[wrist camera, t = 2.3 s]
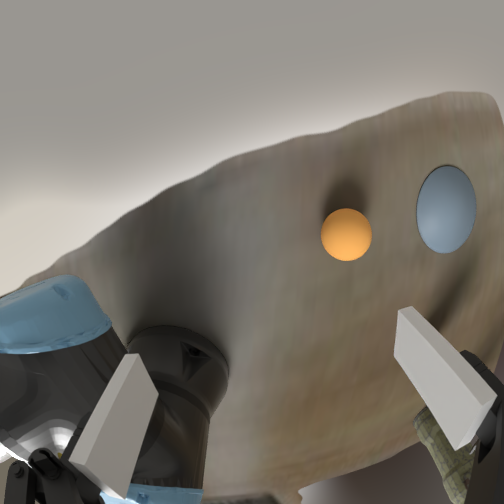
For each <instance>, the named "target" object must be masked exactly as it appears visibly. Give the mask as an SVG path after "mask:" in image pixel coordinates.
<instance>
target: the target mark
mask: <svg viewBox="0 0 504 504" xmlns="http://www.w3.org/2000/svg"><path fill="white" fill-rule="evenodd" d="M475 216H476V198H475V193H474V190H473V187H472V184H471V182H470V181H469V179H468V178H467V176H466V175H465V174H464V173H463V172H462V171H460V170H459V169H457V168H455V167H451V166H444V167H440V168H438V169H436V170H434V171H433V172H432V173H431V174H430V175H429V176H428V177H427V179H426V180H425V181H424V183H423V185H422V187H421V190H420V193H419V196H418V201H417V209H416V217H417V225H418V229H419V232H420V235H421V237H422V239H423V241H424V242H425V243H426V245H427V246H428V247H429V248H431V249H432V250H434V251H436V252H439V253H449V252H452V251H454V250H456V249H458V248H459V247H460V246H461V245H462V244H463V243H464V242H465V241H466V239H467V238H468V236H469V235H470V233H471V230H472V228H473V225H474V221H475Z"/></svg>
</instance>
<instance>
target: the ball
mask: <svg viewBox="0 0 504 504" xmlns="http://www.w3.org/2000/svg"><path fill="white" fill-rule="evenodd" d="M321 239H322V243H323V246H324V248H325V249H326V251H327V252H328V253H329V254H330V255H331V256H333V257H334V258H337V259H339V260H344V261H350V260H354V259H357V258H359V257H360V256H362V255H363V254H364V253H365V252H366V251H367V249H368V248H369V246H370V243H371V239H372V231H371V227H370V224H369V222H368V220H367V219H366V218H365V216H364V215H363V214H361V213H360V212H358V211H356V210H353V209H348V208H344V209H339V210H336V211H334V212H333V213H331V214H330V215H329V216H328V217H327V218H326V220H325V221H324V223H323V225H322V229H321Z"/></svg>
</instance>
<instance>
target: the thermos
mask: <svg viewBox="0 0 504 504" xmlns="http://www.w3.org/2000/svg"><path fill="white" fill-rule="evenodd" d="M413 425H414V427H415V428H416V430H417V434H418V436H419V438H420V440H421V442H422V443H423V444H424V445H426V446H427V448H428V449H429V451H430V453H431V455H432V457H433V459H434V461H435V463H436V465H437V467H438V469H439V471H440V473H441V475H442V477H443V485H444V487H445V489H446V491H447V493H448V496H449V498H450V500H451V502H453V503H454V504H464V501H465V498H466V494H467V490H468V486H469V482H470V477H471V472H472V467H473V462H474V456H475V450H474V451H473V453H472V454H469V453H470V450H471V449H472V445H471V443H470V442H469V443H468V444H466V445H464V446H463V447H461V448H459V449H458V450H456V451H455V450H454V449H453V447H452V445H451V444H450V442H449V440H448V439H447V437H446V435H445V434H444V432H443V430H442V429H441V427H440V425H439V424H438V422H437V420H436V419H435V417H434V416H433V414H432V413H431V411H430V409H429V408H428V406H427V407H425V408H424V409H423V410H422V411H421V412H420V413H419V414H418V415H417V416H416V418H415V419H414V421H413Z"/></svg>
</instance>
